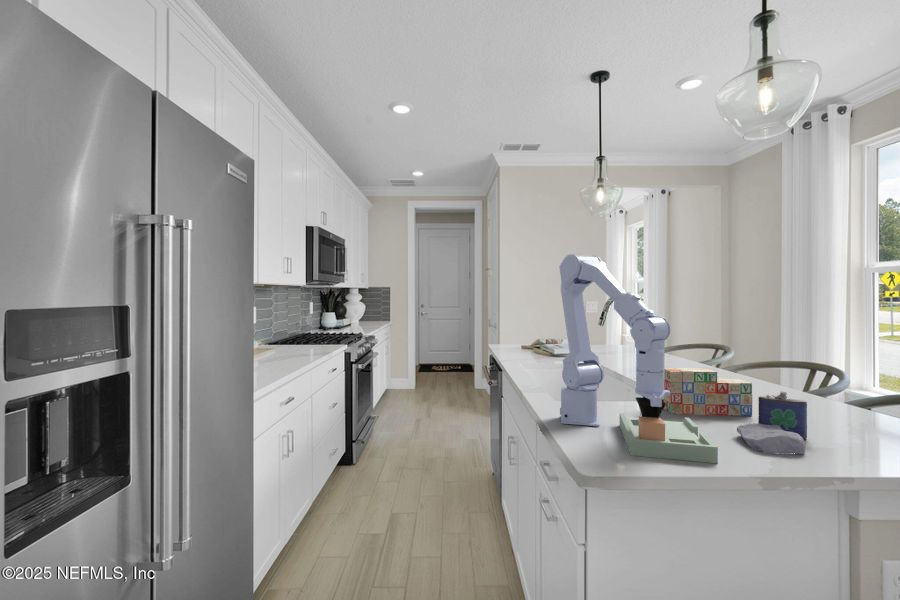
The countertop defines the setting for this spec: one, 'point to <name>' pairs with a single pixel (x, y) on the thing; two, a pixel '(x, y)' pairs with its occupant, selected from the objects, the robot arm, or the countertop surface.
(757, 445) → the stone block
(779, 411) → the flask
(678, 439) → the board
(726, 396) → the stack of blocks
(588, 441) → the countertop surface
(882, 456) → the countertop surface
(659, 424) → the block
